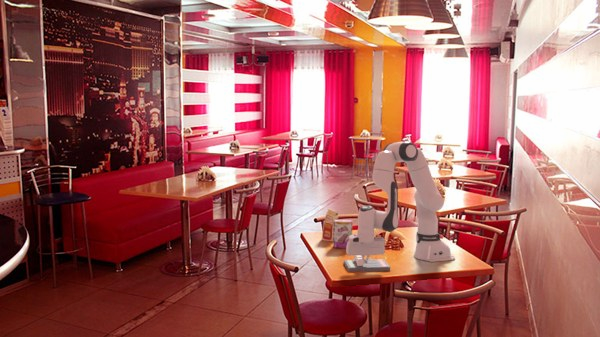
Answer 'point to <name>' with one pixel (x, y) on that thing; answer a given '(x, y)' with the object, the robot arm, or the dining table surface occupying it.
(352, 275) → the dining table surface
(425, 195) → the robot arm
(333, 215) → the milk carton
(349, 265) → the breaker panel
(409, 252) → the dining table surface
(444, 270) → the dining table surface
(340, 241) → the candy bar box
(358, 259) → the handle
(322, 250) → the dining table surface
